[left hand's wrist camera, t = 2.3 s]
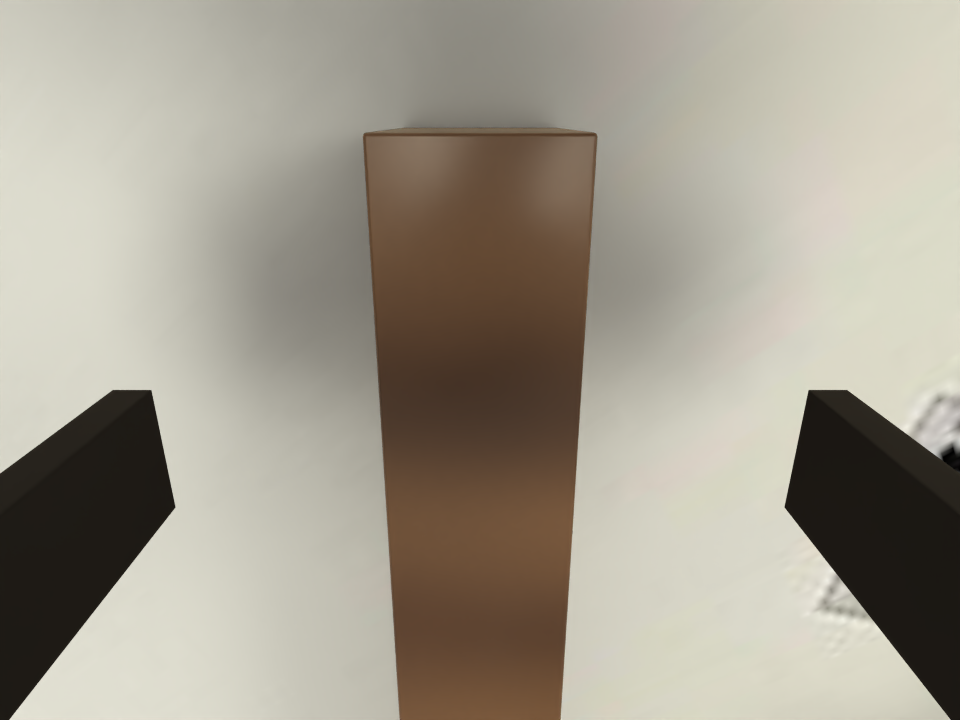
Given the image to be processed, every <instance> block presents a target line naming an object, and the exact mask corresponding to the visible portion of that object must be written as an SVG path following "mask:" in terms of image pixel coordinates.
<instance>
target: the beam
mask: <svg viewBox="0 0 960 720" xmlns="http://www.w3.org/2000/svg"><path fill="white" fill-rule="evenodd" d="M363 146H364V162H365V178H366V193H367V209H368V225H369V241H370V257H371V273H372V288H373V304H374V320H375V336H376V352H377V367H378V383H379V399H380V415H381V431H382V447H383V462H384V478H385V494H386V510H387V526H388V541H389V557H390V573H391V589H392V605H393V621H394V636H395V652H396V668H397V684H398V700H399V715H400V720H560V719H561V703H562V687H563V671H564V656H565V640H566V624H567V608H568V592H569V577H570V561H571V545H572V529H573V513H574V498H575V482H576V466H577V450H578V435H579V419H580V403H581V387H582V371H583V356H584V340H585V324H586V308H587V293H588V277H589V261H590V245H591V229H592V214H593V198H594V182H595V166H596V151H597V134H596V133H592V132H584V131H577V130H569V129H561V128H399V129H392V130H384V131H376V132H368V133H365V134H364V135H363Z"/></svg>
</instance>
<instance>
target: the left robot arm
mask: <svg viewBox="0 0 960 720" xmlns="http://www.w3.org/2000/svg"><path fill="white" fill-rule="evenodd" d="M174 508H175V503H174V498H173V493H172V488H171V484H170V479H169V474H168V469H167V464H166V459H165V454H164V449H163V445H162V440H161V435H160V430H159V425H158V420H157V415H156V411H155V406H154V401H153V396H152V391H151V390H112V391H111V392H110V393H108V394H107V395H106V396H104V397H103V398H102V399H100V400H99V401H98V402H96V403H95V404H94V405H92V406H91V407H89V408H88V409H87V410H85V411H84V412H83V413H81V414H80V415H79V416H77V417H76V418H75V419H73V420H72V421H71V422H69V423H68V424H67V425H65V426H64V427H62V428H61V429H60V430H58V431H57V432H56V433H54V434H53V435H52V436H50V437H49V438H48V439H46V440H45V441H44V442H42V443H41V444H40V445H38V446H37V447H35V448H34V449H33V450H31V451H30V452H29V453H27V454H26V455H25V456H23V457H22V458H21V459H19V460H18V461H17V462H15V463H14V464H13V465H11V466H10V467H8V468H7V469H6V470H4V471H3V472H2V473H0V720H9V719H10V718H11V717H12V715H13V714H14V713H15V712H16V710H17V709H18V708H19V706H20V705H21V704H22V703H23V701H24V700H25V699H26V698H27V696H28V695H29V694H30V692H31V691H32V690H33V689H34V687H35V686H36V685H37V683H38V682H39V681H40V680H41V678H42V677H43V676H44V675H45V673H46V672H47V671H48V669H49V668H50V667H51V666H52V664H53V663H54V662H55V660H56V659H57V658H58V657H59V655H60V654H61V653H62V652H63V650H64V649H65V648H66V646H67V645H68V644H69V643H70V641H71V640H72V639H73V637H74V636H75V635H76V634H77V632H78V631H79V630H80V629H81V627H82V626H83V625H84V623H85V622H86V621H87V620H88V618H89V617H90V616H91V615H92V613H93V612H94V611H95V609H96V608H97V607H98V606H99V604H100V603H101V602H102V600H103V599H104V598H105V597H106V595H107V594H108V593H109V592H110V590H111V589H112V588H113V586H114V585H115V584H116V583H117V581H118V580H119V579H120V577H121V576H122V575H123V574H124V572H125V571H126V570H127V569H128V567H129V566H130V565H131V563H132V562H133V561H134V560H135V558H136V557H137V556H138V554H139V553H140V552H141V551H142V549H143V548H144V547H145V546H146V544H147V543H148V542H149V540H150V539H151V538H152V537H153V535H154V534H155V533H156V531H157V530H158V529H159V528H160V526H161V525H162V524H163V523H164V521H165V520H166V519H167V517H168V516H169V515H170V514H171V512H172V511H173V510H174ZM785 508H786V510H787V511H788V512H789V514H790V515H791V516H792V517H793V519H794V520H795V521H796V523H797V524H798V525H799V526H800V528H801V529H802V530H803V531H804V533H805V534H806V535H807V537H808V538H809V539H810V540H811V542H812V543H813V544H814V546H815V547H816V548H817V549H818V551H819V552H820V553H821V554H822V556H823V557H824V558H825V560H826V561H827V562H828V563H829V565H830V566H831V567H832V569H833V570H834V571H835V572H836V574H837V575H838V576H839V577H840V579H841V580H842V581H843V583H844V584H845V585H846V586H847V588H848V589H849V590H850V592H851V593H852V594H853V595H854V597H855V598H856V599H857V600H858V602H859V603H860V604H861V606H862V607H863V608H864V609H865V611H866V612H867V613H868V615H869V616H870V617H871V618H872V620H873V621H874V622H875V623H876V625H877V626H878V627H879V629H880V630H881V631H882V632H883V634H884V635H885V636H886V637H887V639H888V640H889V641H890V643H891V644H892V645H893V646H894V648H895V649H896V650H897V652H898V653H899V654H900V655H901V657H902V658H903V659H904V660H905V662H906V663H907V664H908V666H909V667H910V668H911V669H912V671H913V672H914V673H915V675H916V676H917V677H918V678H919V680H920V681H921V682H922V683H923V685H924V686H925V687H926V689H927V690H928V691H929V692H930V694H931V695H932V696H933V698H934V699H935V700H936V701H937V703H938V704H939V705H940V706H941V708H942V709H943V710H944V712H945V713H946V714H947V715H948V717H949V718H950V719H951V720H960V473H958V472H957V471H956V470H954V469H953V468H952V467H950V466H949V465H947V464H946V463H945V462H943V461H942V460H941V459H939V458H938V457H937V456H935V455H934V454H933V453H931V452H930V451H929V450H927V449H926V448H925V447H923V446H922V445H920V444H919V443H918V442H916V441H915V440H914V439H912V438H911V437H910V436H908V435H907V434H906V433H904V432H903V431H902V430H900V429H899V428H898V427H896V426H895V425H893V424H892V423H891V422H889V421H888V420H887V419H885V418H884V417H883V416H881V415H880V414H879V413H877V412H876V411H875V410H873V409H872V408H871V407H869V406H868V405H866V404H865V403H864V402H862V401H861V400H860V399H858V398H857V397H856V396H854V395H853V394H852V393H850V392H849V391H848V390H809V391H808V396H807V401H806V406H805V411H804V415H803V420H802V425H801V430H800V435H799V440H798V445H797V449H796V454H795V459H794V464H793V469H792V474H791V479H790V484H789V488H788V493H787V498H786V503H785Z"/></svg>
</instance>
